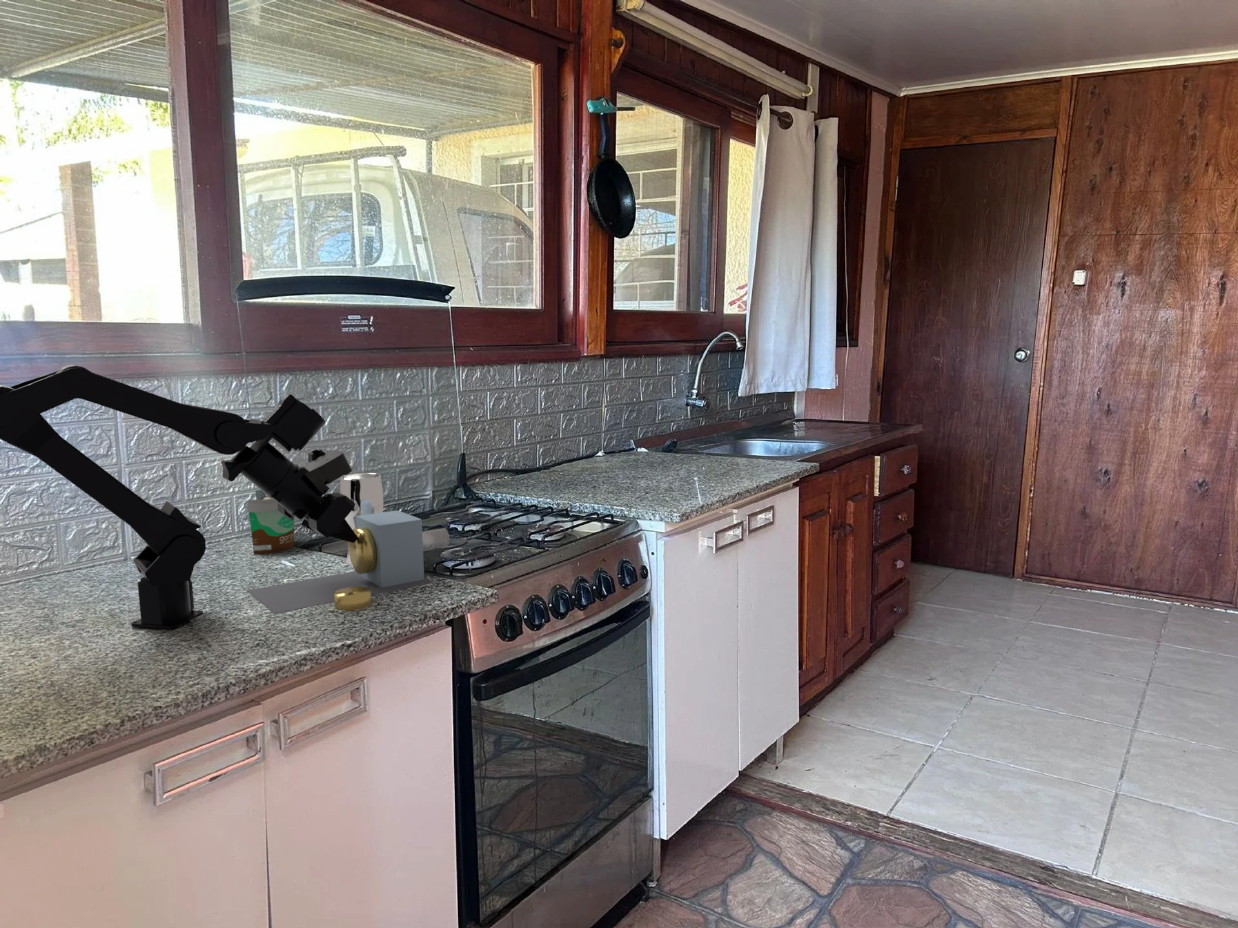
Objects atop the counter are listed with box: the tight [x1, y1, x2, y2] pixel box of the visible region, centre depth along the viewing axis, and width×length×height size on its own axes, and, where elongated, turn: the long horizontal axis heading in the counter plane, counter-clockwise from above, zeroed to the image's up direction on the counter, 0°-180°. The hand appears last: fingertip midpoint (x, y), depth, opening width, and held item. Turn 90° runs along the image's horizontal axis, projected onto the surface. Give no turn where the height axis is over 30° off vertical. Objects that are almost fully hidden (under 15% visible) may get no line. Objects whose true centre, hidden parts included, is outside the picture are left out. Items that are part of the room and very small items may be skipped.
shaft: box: [349, 527, 451, 574], centre depth 138 cm, size 15×7×7 cm, turn 128°
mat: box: [246, 570, 434, 615], centre depth 133 cm, size 24×14×1 cm, turn 128°
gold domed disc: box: [334, 587, 373, 612], centre depth 123 cm, size 5×5×2 cm
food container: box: [246, 495, 295, 556], centre depth 158 cm, size 12×6×10 cm, turn 179°
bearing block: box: [356, 510, 425, 587], centre depth 137 cm, size 7×9×10 cm
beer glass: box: [339, 472, 384, 566], centre depth 147 cm, size 7×7×15 cm
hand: (355, 540), depth 133 cm, fingers closed, pressing on shaft
